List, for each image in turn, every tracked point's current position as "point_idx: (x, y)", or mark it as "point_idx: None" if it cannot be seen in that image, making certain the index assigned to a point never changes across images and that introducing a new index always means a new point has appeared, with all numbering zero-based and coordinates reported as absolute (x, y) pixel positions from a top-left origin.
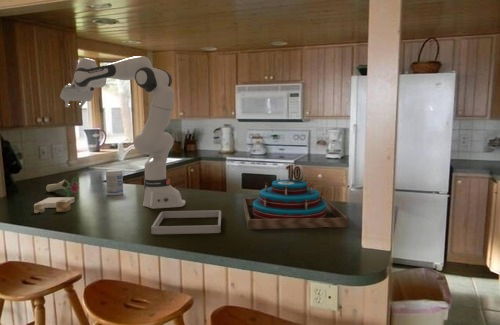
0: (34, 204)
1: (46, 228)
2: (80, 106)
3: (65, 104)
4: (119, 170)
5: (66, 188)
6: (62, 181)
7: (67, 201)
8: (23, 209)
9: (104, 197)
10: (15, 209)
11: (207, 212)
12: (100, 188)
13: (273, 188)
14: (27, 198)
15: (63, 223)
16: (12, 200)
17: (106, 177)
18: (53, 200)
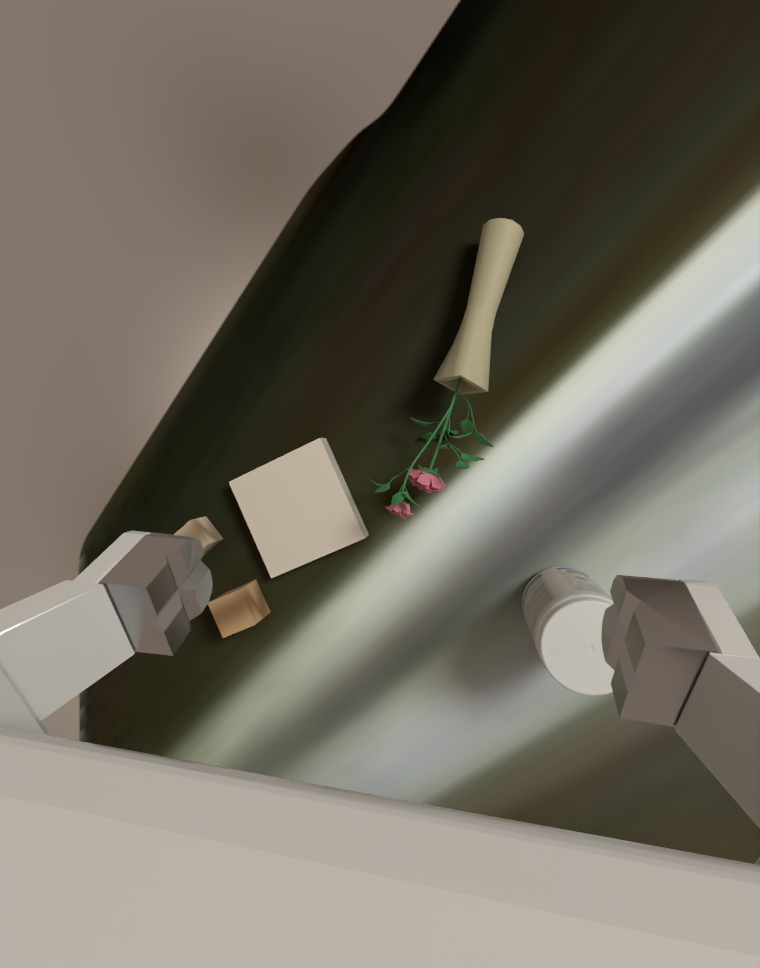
0: (177, 531)
1: (86, 710)
2: (617, 665)
3: (98, 569)
4: (598, 684)
5: (461, 391)
6: (455, 366)
7: (232, 633)
8: (205, 453)
9: (480, 600)
10: (195, 425)
11: None
12: (672, 424)
13: None
14: (344, 286)
15: (135, 720)
16: (293, 263)
17: (539, 608)
18: (286, 505)
